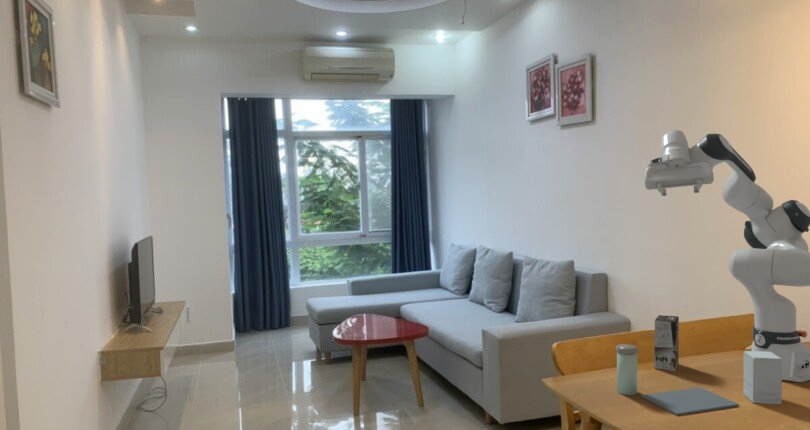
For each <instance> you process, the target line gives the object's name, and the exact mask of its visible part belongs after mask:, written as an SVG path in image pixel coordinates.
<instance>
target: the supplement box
mask: <svg viewBox="0 0 810 430" xmlns="http://www.w3.org/2000/svg"><path fill="white" fill-rule="evenodd" d="M782 383H783V380H782V359H781V358H780V357H778V356H777V355H775V354H774V353H772V352H764V351H751V350H750V351H749V350H743V396H745V397H746V398H747V399H749V401H750V402H751V403H754V404H765V405H782V404H783V402H782V399H783V398H782V395H783V393H782V390H783V388H782V386H783V384H782Z"/></svg>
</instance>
